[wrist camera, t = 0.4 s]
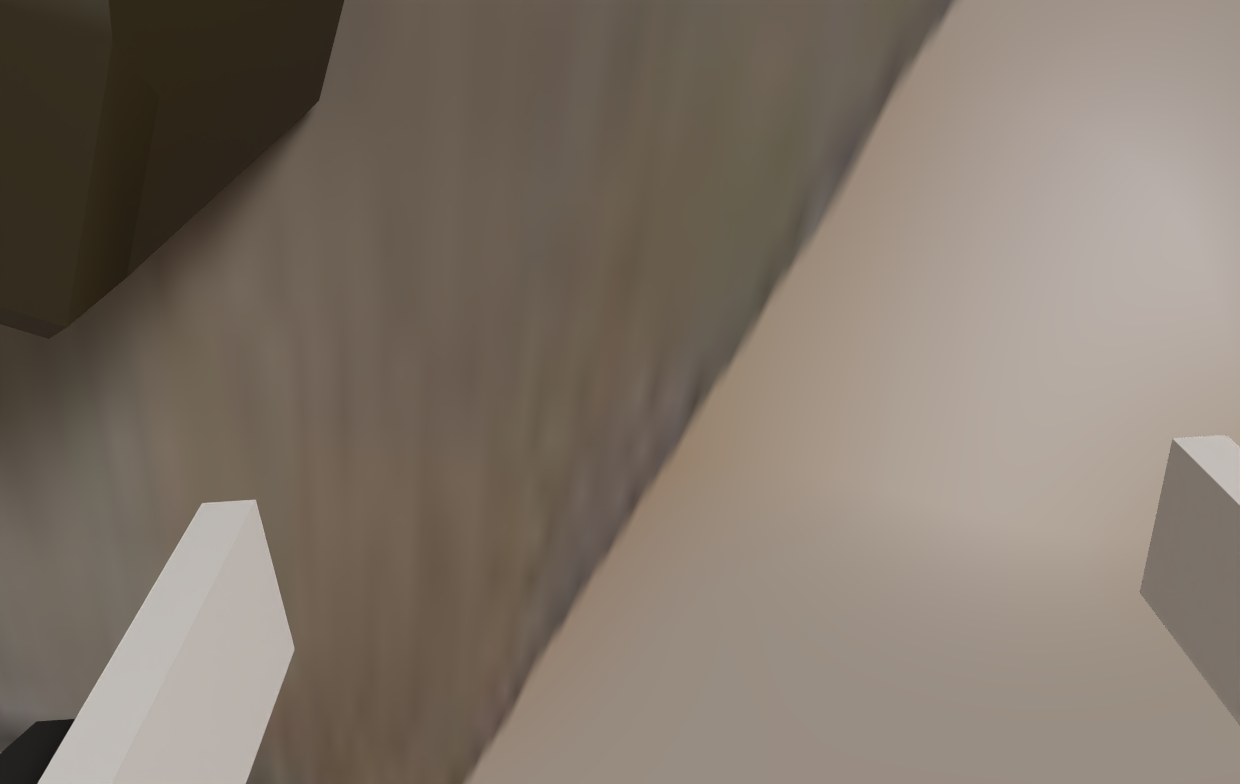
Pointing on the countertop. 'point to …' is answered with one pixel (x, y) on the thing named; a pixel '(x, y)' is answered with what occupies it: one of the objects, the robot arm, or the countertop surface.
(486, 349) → the countertop surface
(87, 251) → the bottle
